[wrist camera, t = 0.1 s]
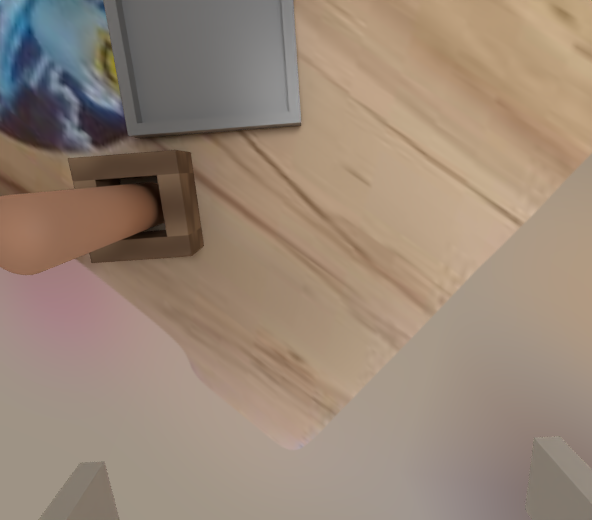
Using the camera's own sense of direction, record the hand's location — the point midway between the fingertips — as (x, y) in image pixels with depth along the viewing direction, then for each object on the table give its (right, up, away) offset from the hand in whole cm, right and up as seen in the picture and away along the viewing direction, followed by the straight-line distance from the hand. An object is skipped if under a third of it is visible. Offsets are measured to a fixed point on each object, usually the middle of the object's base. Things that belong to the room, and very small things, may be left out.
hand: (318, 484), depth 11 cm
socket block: (-16, +13, +26) cm, 33 cm away
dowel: (-16, +13, +26) cm, 33 cm away
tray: (-9, +26, +22) cm, 35 cm away
